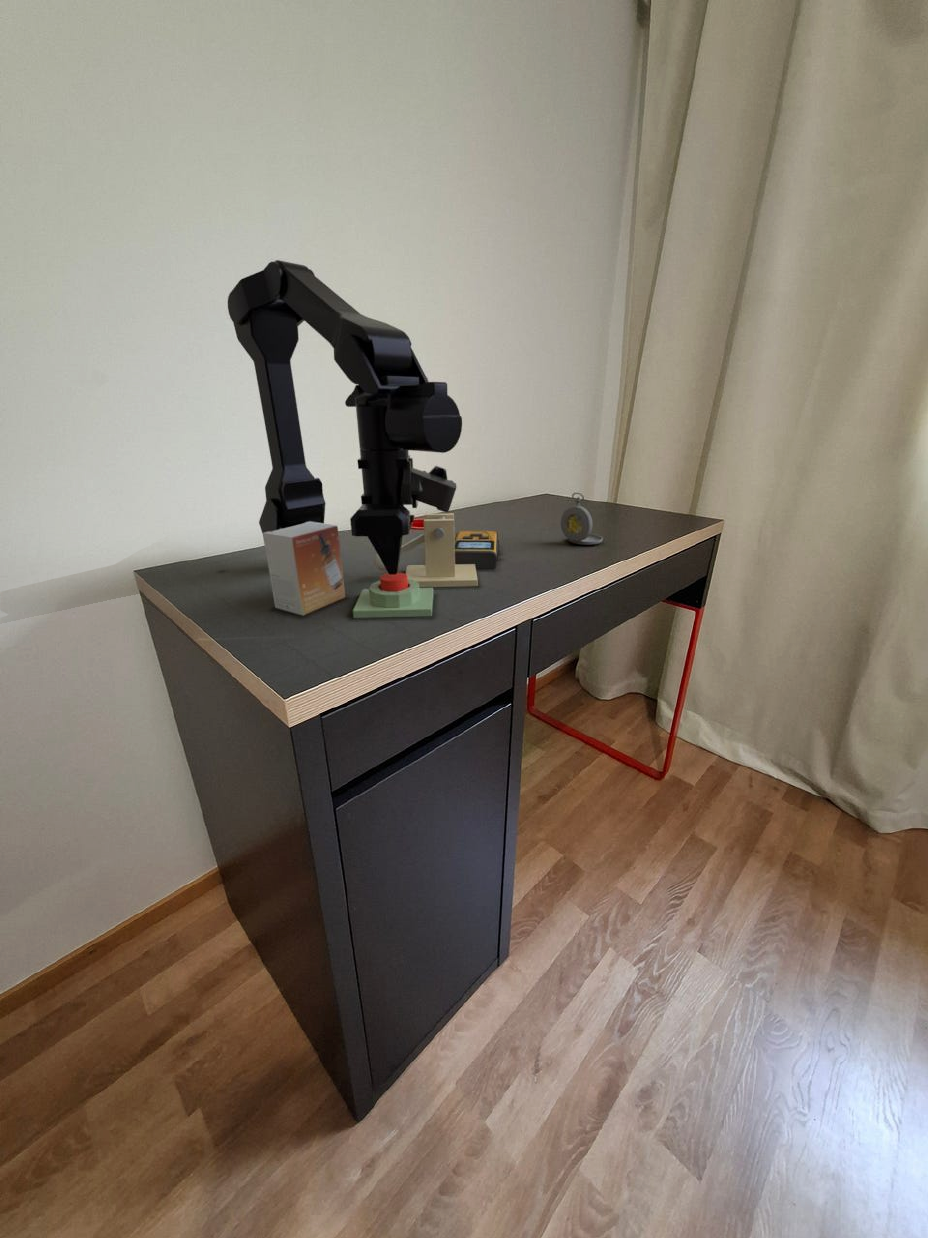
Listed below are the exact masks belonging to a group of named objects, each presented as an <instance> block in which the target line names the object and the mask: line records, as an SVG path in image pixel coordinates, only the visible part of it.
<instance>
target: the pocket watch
mask: <svg viewBox="0 0 928 1238" xmlns="http://www.w3.org/2000/svg"><path fill="white" fill-rule="evenodd" d="M574 495H580V496H581V497H579V496H577V498H575V497H574ZM571 497H572V500H574V501H575V503H576V505H572V506H571V505H570V506H568V508H566V510H564V512H562V515H561V518H560V528H561V532H562V533H563V535H564V536H565V537H566V538H567V541H569V542H570V543H572V544H575V545H579V546H581V545H582V546H593V545H598V544H601V543H602V542H603V540H604V537H603V536H601V535H600V534H595V533H592V529H593V519H592V515H591V514H590V512H589V511H588V510H587V509H586V508H585V507H583V506H581V505H580V504H581V503H582V501H584V500H585V495H583V494H582V493H580V492H574V493H572V494H571ZM576 531H578V532H576Z"/></svg>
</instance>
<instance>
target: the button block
mask: <svg viewBox="0 0 928 1238" xmlns="http://www.w3.org/2000/svg"><path fill="white" fill-rule="evenodd" d="M433 605H434V587H419V583H417V582H416V581H414V580H411V579H408V588H407V589H405V590H401V591H395V592H388V591H383V590H381V585H380V579H379V580H377V581H375V582H373V583H371V584H370V585H369V588H363V589H362V590H361V592H360V594H359V597H358V599H357V600H356V603H355V605H354V607H353V609H352V617H353V618H354V619H367V618H369V619H370V618H405V617H406V618H407V617H409V618H410V617H411V618H413V617H433Z"/></svg>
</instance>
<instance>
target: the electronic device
mask: <svg viewBox="0 0 928 1238" xmlns="http://www.w3.org/2000/svg"><path fill="white" fill-rule="evenodd" d="M455 534H456V535H455V536H454V537H455V564H475V568H476V570H495V569H496V568H497V562H498V561H499V555H500V539H499V533H498V532H496V531H494V530H460V531H459V532H457V533H455Z"/></svg>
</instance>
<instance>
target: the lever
mask: <svg viewBox="0 0 928 1238" xmlns="http://www.w3.org/2000/svg"><path fill="white" fill-rule="evenodd" d="M439 519H445V517H444V516H443V517H441V518H439ZM424 543H425V541H424V533H422V534H420V535H418V536H416V537H415V538H412V539H411V540H409V541H408V542H406V543H404V544H403V545H401V552H400V557H401V556H402V555H404V554H406V553H408V552H409V551H411V550H413V549H415V548H416V547H418V546H420V545H422V544H424ZM373 563H374V566H375V567H376V568H377V569H378V570H380V571H387V570H386V568H385V566H384V564H383V563H382V561H381V559H380V557H379V555H378V554H377V553H376V554H375V555H374V559H373Z"/></svg>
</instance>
